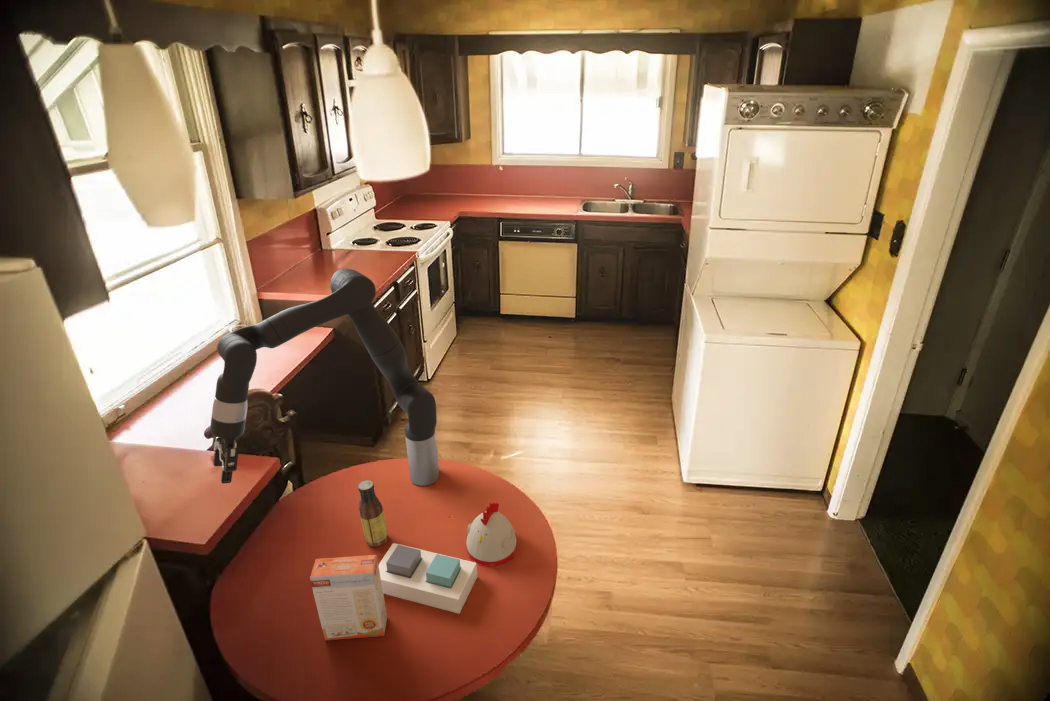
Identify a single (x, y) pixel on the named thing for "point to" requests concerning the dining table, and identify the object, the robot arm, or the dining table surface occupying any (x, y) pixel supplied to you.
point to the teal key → (443, 571)
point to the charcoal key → (404, 561)
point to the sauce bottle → (372, 515)
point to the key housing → (428, 592)
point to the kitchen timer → (491, 538)
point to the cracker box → (349, 597)
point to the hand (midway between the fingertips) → (221, 473)
